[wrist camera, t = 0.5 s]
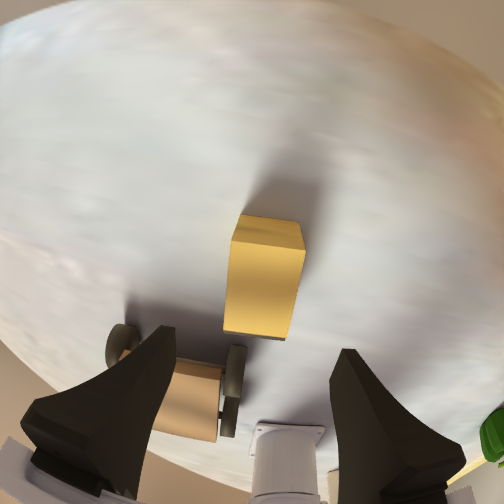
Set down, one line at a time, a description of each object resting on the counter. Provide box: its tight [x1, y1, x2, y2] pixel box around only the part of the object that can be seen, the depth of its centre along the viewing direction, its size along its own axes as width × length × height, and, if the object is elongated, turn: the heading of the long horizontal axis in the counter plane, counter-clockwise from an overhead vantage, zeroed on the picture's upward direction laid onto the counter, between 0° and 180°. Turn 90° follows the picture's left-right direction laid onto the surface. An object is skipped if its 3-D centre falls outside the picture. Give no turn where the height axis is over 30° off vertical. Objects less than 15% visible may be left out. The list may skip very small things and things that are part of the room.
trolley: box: [105, 324, 247, 443], centre depth 24 cm, size 11×11×5 cm
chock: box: [223, 215, 306, 341], centre depth 19 cm, size 7×4×5 cm, turn 174°
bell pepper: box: [480, 408, 504, 468], centre depth 26 cm, size 8×8×10 cm
